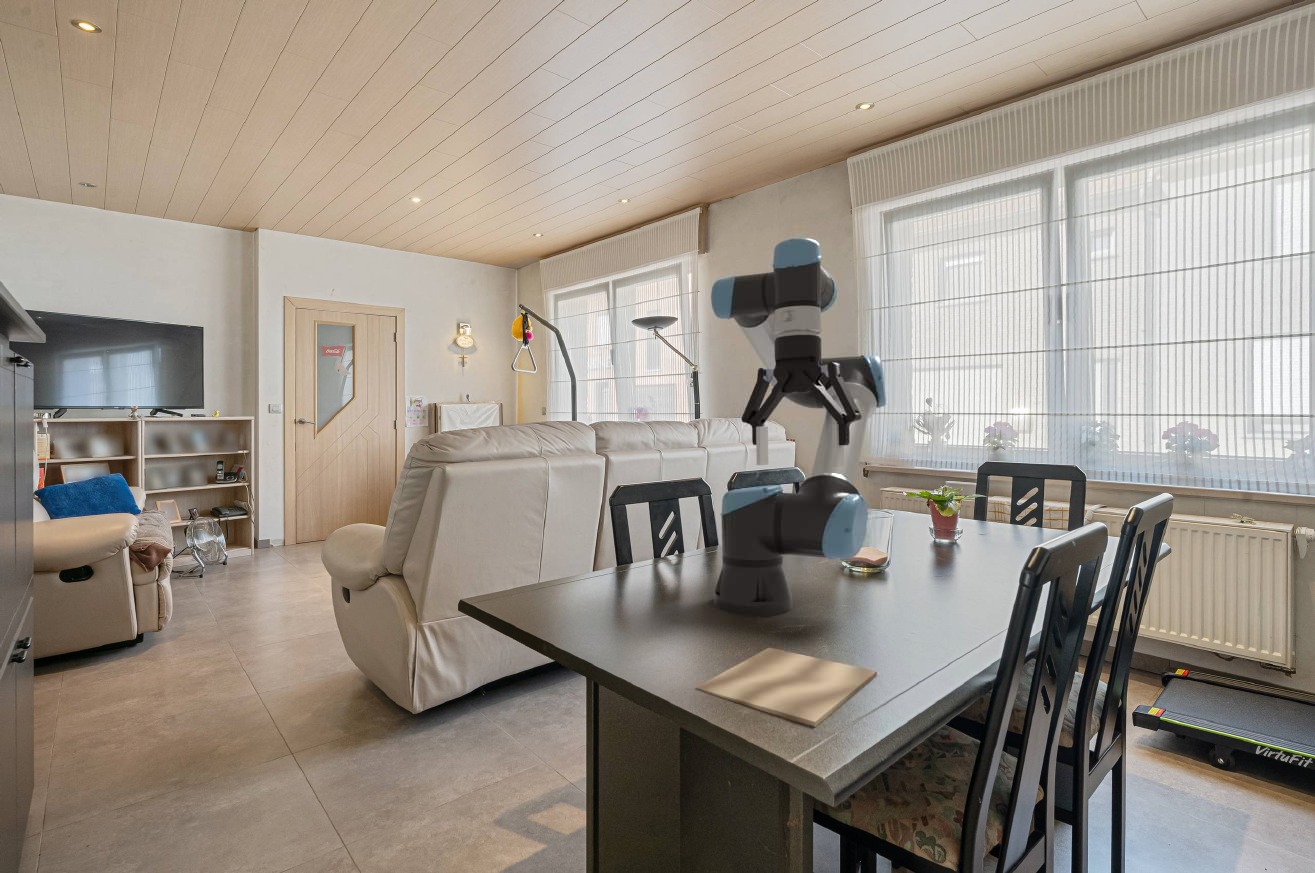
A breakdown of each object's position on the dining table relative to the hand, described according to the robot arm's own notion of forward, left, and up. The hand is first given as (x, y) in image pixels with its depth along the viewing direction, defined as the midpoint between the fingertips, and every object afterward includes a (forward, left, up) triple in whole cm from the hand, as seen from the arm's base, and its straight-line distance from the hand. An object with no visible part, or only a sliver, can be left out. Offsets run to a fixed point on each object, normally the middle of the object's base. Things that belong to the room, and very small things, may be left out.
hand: (799, 465), depth 107 cm
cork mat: (+7, -18, -29) cm, 35 cm away
